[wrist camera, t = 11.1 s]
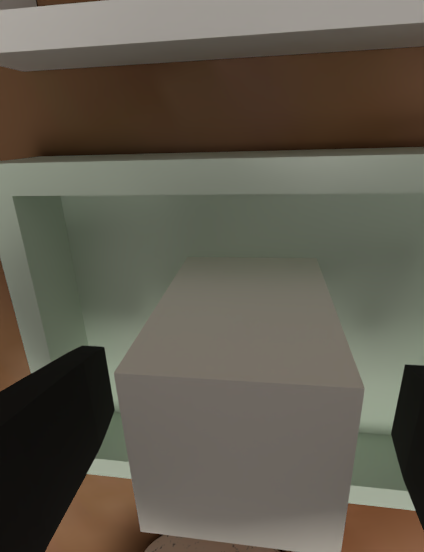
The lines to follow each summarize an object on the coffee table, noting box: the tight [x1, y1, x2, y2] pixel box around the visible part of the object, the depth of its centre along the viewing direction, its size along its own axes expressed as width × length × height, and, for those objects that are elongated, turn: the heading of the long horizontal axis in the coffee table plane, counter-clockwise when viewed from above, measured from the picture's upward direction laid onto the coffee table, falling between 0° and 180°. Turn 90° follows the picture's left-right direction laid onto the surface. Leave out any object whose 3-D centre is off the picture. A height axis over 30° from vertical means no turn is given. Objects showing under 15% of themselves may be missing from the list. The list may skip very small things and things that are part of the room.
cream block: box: [114, 257, 365, 552], centre depth 9 cm, size 4×4×6 cm
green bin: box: [0, 147, 424, 511], centre depth 11 cm, size 14×11×3 cm
